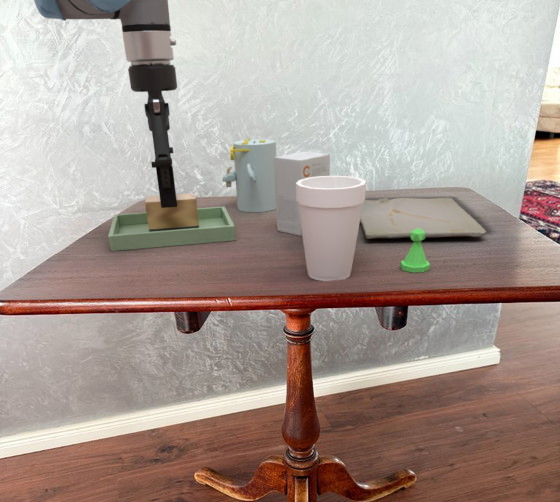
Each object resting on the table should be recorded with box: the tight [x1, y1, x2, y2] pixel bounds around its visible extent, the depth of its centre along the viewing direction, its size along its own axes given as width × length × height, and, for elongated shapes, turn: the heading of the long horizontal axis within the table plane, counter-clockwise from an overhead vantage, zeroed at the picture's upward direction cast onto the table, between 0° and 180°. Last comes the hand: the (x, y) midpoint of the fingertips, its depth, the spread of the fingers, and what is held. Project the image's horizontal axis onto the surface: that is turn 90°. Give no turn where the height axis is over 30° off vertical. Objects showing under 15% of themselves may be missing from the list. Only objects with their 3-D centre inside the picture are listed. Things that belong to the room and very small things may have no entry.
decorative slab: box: [360, 197, 487, 240], centre depth 103 cm, size 27×21×2 cm
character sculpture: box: [221, 138, 277, 213], centre depth 114 cm, size 20×12×13 cm, turn 179°
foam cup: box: [296, 175, 367, 282], centre depth 77 cm, size 10×9×13 cm
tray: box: [107, 206, 237, 252], centre depth 101 cm, size 22×16×3 cm
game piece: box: [400, 228, 431, 274], centre depth 80 cm, size 4×4×6 cm
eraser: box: [144, 192, 199, 232], centre depth 99 cm, size 9×5×6 cm, turn 101°
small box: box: [274, 151, 331, 237], centre depth 98 cm, size 8×6×13 cm
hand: (168, 198), depth 98 cm, fingers open, 13 cm apart
